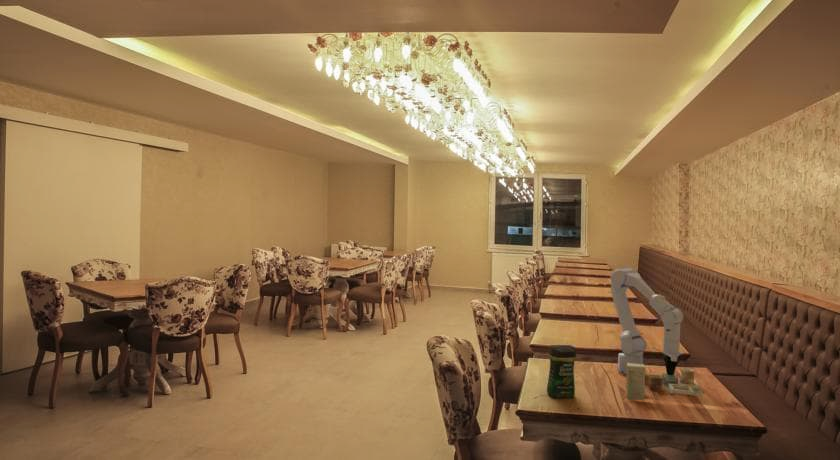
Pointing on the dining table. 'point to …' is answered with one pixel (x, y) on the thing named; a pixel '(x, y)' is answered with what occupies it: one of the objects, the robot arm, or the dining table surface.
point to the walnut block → (655, 382)
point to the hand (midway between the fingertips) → (670, 374)
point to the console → (669, 379)
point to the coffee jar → (561, 371)
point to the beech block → (687, 376)
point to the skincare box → (635, 381)
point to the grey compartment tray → (684, 389)
